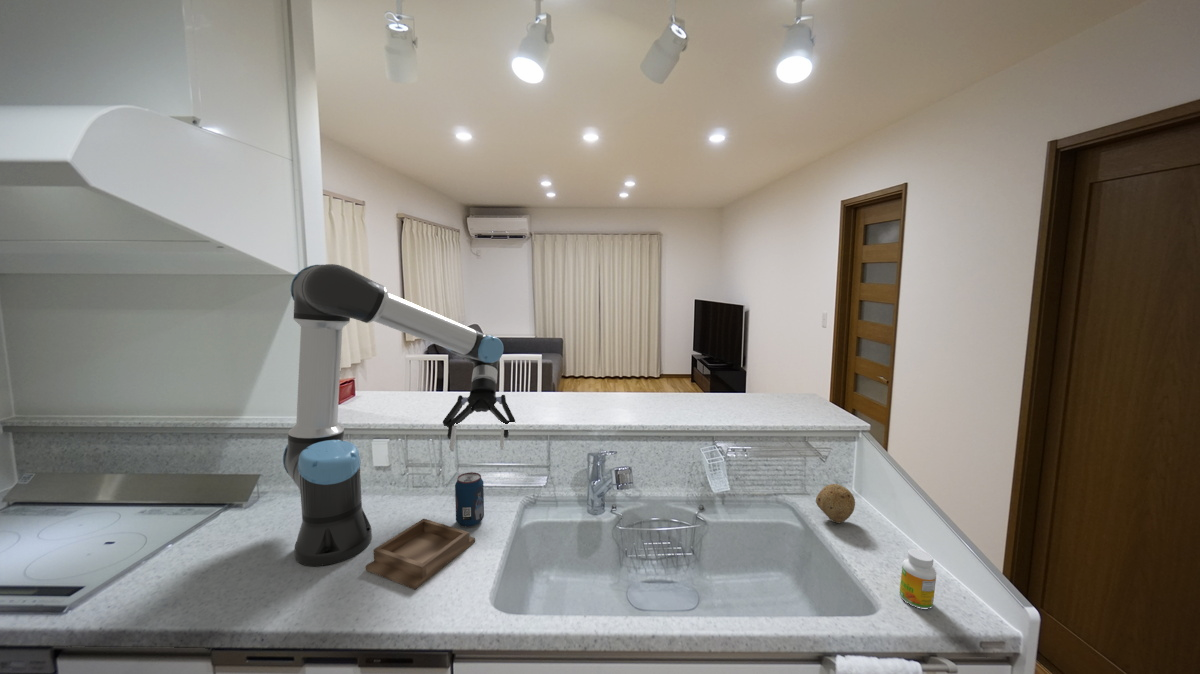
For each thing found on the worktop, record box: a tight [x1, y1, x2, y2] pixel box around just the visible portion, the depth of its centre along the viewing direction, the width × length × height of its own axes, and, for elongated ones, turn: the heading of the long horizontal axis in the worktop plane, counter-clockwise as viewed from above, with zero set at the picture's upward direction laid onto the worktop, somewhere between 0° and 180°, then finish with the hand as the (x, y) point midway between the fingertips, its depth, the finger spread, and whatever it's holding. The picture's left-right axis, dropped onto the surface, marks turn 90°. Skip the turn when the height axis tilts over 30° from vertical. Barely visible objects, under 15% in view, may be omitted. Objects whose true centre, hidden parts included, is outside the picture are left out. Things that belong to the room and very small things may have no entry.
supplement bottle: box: [898, 548, 937, 608], centre depth 85 cm, size 5×5×10 cm
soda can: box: [454, 471, 485, 529], centre depth 111 cm, size 7×7×12 cm
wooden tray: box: [365, 518, 476, 590], centre depth 97 cm, size 14×18×4 cm
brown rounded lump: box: [815, 483, 856, 524], centre depth 114 cm, size 9×9×10 cm
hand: (476, 448), depth 121 cm, fingers open, 13 cm apart
